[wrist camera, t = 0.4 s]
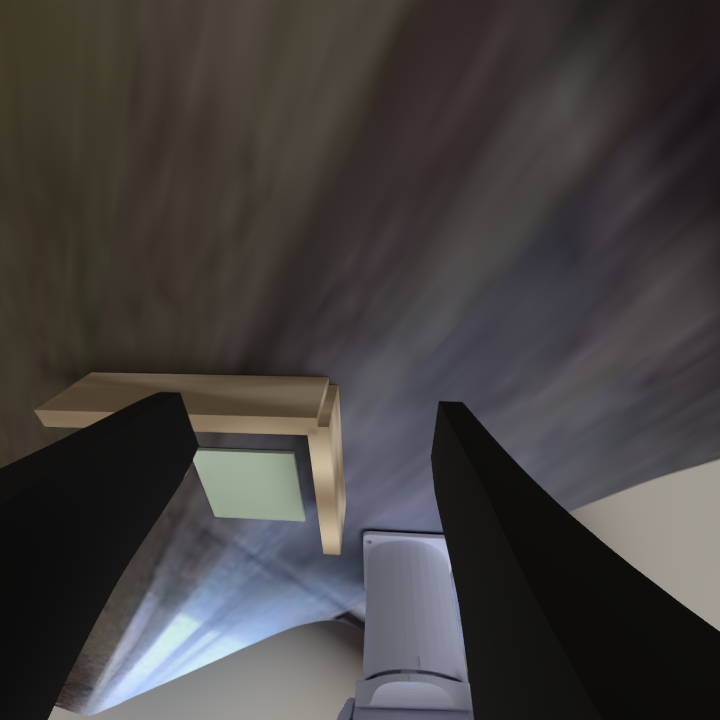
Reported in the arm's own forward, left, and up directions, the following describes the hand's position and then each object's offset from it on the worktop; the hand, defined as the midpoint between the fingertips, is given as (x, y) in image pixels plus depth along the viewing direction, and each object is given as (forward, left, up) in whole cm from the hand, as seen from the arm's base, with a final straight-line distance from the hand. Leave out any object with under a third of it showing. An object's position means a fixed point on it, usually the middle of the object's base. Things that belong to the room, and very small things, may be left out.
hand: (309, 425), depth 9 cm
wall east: (-5, +9, -10) cm, 15 cm away
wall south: (-11, +1, -10) cm, 15 cm away
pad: (-15, +8, -10) cm, 20 cm away
